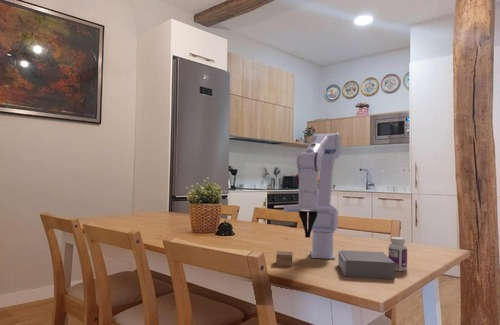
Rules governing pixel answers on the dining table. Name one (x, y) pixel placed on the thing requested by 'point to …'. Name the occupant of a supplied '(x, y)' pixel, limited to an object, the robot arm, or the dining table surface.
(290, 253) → the pedestal
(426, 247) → the dining table surface
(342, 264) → the grey shallow open box
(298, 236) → the dining table surface
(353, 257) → the block
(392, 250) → the pill bottle
